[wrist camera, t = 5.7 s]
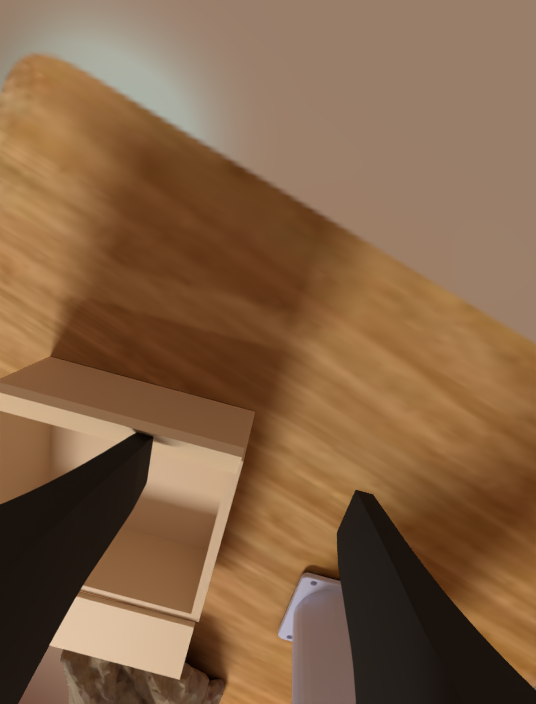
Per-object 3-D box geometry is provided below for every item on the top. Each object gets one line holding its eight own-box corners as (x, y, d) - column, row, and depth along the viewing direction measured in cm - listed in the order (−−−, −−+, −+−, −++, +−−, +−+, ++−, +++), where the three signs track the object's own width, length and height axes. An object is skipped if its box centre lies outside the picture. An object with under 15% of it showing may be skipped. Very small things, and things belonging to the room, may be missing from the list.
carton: (255, 411, 20) (242, 465, 16) (203, 599, 27) (182, 680, 22) (49, 356, 20) (-30, 392, 15) (46, 558, 27) (-10, 629, 22)
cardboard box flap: (236, 474, 15) (238, 466, 15) (242, 457, 10) (245, 446, 10) (-34, 401, 15) (-29, 395, 15) (-175, 345, 10) (-165, 336, 10)
